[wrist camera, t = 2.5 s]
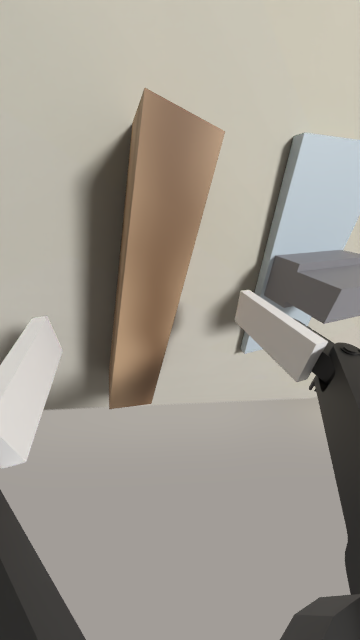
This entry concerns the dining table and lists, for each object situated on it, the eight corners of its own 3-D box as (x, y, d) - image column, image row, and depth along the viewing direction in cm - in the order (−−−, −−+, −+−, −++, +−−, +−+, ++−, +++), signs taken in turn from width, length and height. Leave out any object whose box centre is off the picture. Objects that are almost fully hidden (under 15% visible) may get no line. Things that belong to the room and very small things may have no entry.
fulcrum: (240, 348, 26) (282, 396, 20) (293, 136, 14) (440, 88, 8) (295, 335, 29) (347, 374, 23) (379, 147, 17) (540, 117, 11)
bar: (108, 369, 21) (109, 409, 17) (131, 125, 12) (144, 87, 8) (143, 367, 23) (151, 403, 19) (189, 151, 13) (225, 131, 9)
